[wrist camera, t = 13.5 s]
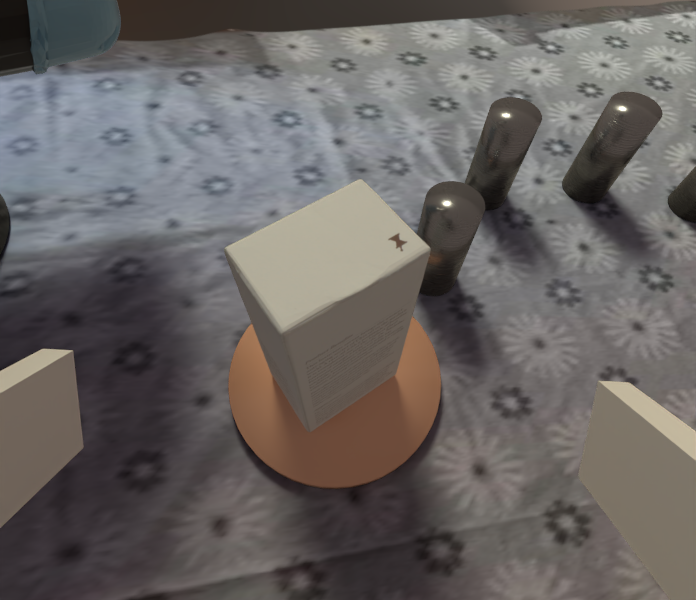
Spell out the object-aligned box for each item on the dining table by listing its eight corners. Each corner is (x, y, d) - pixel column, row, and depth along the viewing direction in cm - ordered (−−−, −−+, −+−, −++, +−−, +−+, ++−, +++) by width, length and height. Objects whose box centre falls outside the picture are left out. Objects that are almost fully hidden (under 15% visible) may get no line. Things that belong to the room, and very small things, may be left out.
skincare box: (354, 320, 27) (364, 172, 17) (397, 375, 26) (438, 248, 15) (266, 374, 25) (218, 244, 15) (306, 437, 24) (283, 339, 13)
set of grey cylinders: (366, 229, 32) (373, 151, 26) (598, 119, 39) (647, 37, 33) (586, 503, 23) (675, 482, 17) (837, 298, 30) (965, 231, 24)
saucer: (198, 346, 27) (195, 340, 26) (366, 262, 30) (366, 256, 30) (293, 538, 22) (291, 537, 21) (481, 412, 25) (485, 408, 25)
